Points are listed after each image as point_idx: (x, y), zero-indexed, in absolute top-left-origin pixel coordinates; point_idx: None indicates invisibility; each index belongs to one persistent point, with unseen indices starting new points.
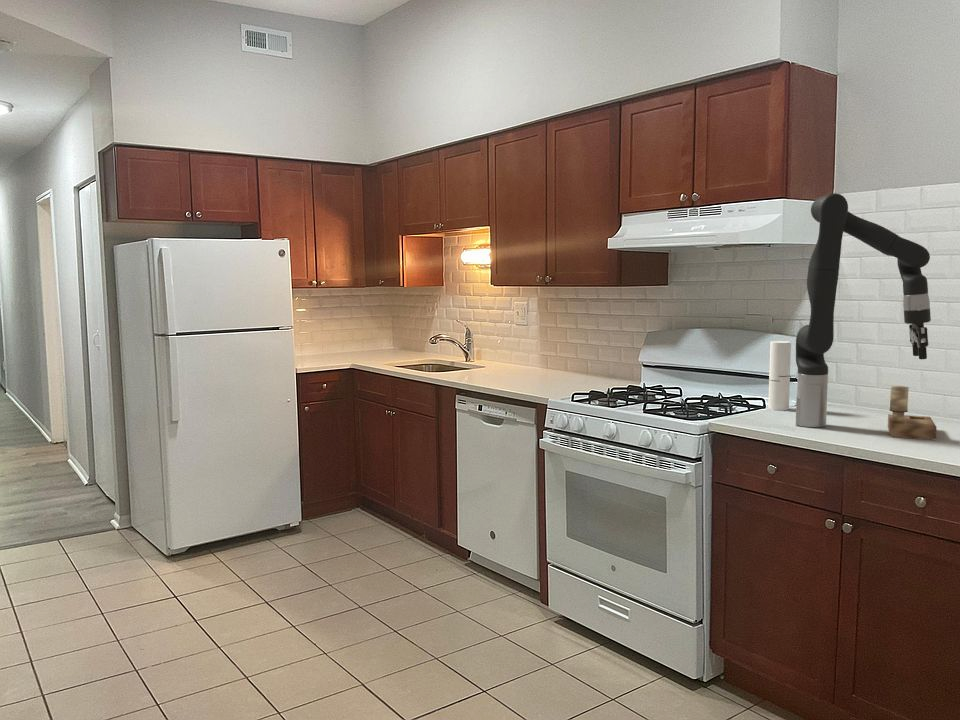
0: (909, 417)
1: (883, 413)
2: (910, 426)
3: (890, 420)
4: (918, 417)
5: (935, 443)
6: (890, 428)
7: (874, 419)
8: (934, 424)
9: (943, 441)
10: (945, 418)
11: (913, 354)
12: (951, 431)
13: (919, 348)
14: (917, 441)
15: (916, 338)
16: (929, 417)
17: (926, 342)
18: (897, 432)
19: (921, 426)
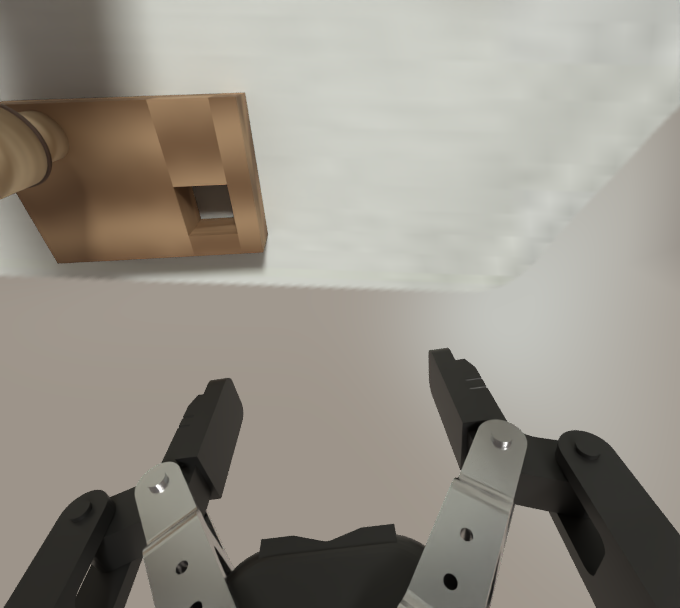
0: (203, 185)
1: (567, 82)
2: None
3: (62, 103)
4: (234, 216)
5: (21, 240)
6: (40, 101)
7: (402, 33)
8: (101, 259)
9: None
10: (480, 279)
11: (431, 355)
12: (261, 284)
13: (178, 460)
14: None
15: (152, 576)
16: (246, 249)
17: (87, 574)
18: None
19: (33, 219)
